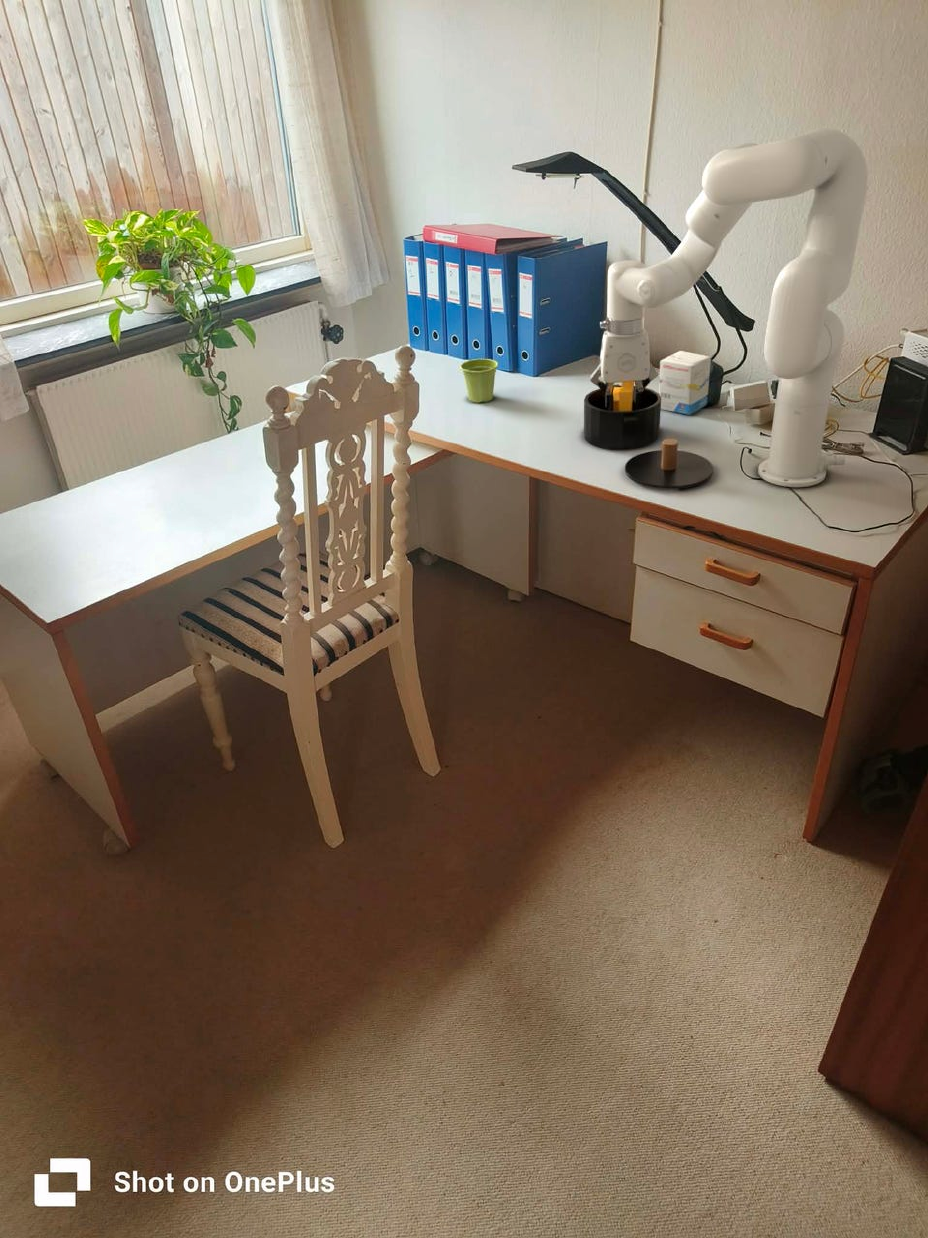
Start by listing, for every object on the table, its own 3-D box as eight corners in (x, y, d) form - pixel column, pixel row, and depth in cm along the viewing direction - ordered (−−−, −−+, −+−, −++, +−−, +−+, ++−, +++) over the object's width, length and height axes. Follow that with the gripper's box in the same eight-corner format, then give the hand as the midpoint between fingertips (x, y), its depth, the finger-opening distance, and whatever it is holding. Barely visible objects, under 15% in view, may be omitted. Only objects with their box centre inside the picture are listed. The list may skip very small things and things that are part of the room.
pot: (648, 414, 203) (649, 378, 199) (669, 451, 185) (671, 413, 181) (577, 419, 204) (577, 384, 199) (592, 457, 186) (592, 419, 181)
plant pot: (506, 394, 221) (505, 360, 216) (487, 407, 214) (485, 372, 210) (475, 390, 225) (473, 356, 220) (455, 402, 219) (452, 368, 214)
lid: (700, 452, 184) (702, 421, 180) (722, 487, 170) (726, 455, 166) (617, 458, 184) (618, 428, 181) (633, 494, 170) (635, 463, 166)
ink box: (708, 404, 206) (712, 355, 199) (689, 415, 201) (693, 365, 194) (676, 397, 211) (679, 349, 204) (657, 408, 206) (659, 359, 199)
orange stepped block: (613, 401, 197) (614, 372, 193) (633, 401, 196) (634, 372, 192) (610, 421, 187) (610, 392, 183) (630, 421, 186) (631, 392, 182)
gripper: (587, 333, 178) (586, 418, 188) (670, 326, 178) (665, 412, 188) (581, 323, 184) (581, 406, 194) (662, 316, 184) (658, 400, 194)
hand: (622, 408), depth 191 cm, fingers closed on orange stepped block, 4 cm apart
